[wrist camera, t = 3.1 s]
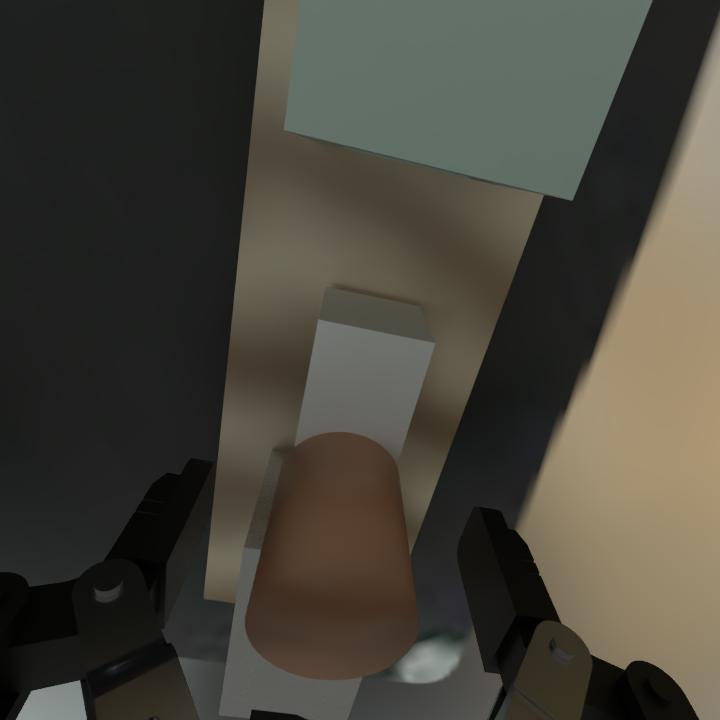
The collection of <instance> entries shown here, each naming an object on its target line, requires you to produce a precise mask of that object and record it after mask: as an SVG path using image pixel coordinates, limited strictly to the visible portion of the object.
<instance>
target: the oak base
mask: <svg viewBox="0 0 720 720" xmlns="http://www.w3.org/2000/svg"><path fill="white" fill-rule="evenodd" d="M300 1H301V0H265V2H264V12H263V22H262V32H261V41H260V51H259V61H258V71H257V80H256V90H255V100H254V110H253V120H252V129H251V139H250V149H249V159H248V168H247V178H246V188H245V198H244V208H243V217H242V227H241V237H240V247H239V256H238V266H237V276H236V286H235V296H234V305H233V315H232V325H231V335H230V344H229V354H228V364H227V374H226V384H225V393H224V403H223V413H222V423H221V432H220V442H219V452H218V462H217V472H216V481H215V491H214V501H213V511H212V520H211V530H210V540H209V550H208V560H207V569H206V579H205V589H204V599H208V600H216V601H223V602H230V603H236V596H237V589H238V582H239V576H240V569H241V562H242V555H243V549H244V545H245V541H246V538H247V534H248V531H249V527H250V524H251V520H252V517H253V513H254V510H255V506H256V503H257V499H258V496H259V493H260V489H261V486H262V482H263V479H264V475H265V472H266V468H267V465H268V461H269V458H270V454H271V451H272V449H277V450H283V451H289V452H291V450H292V449H293V448H294V445H295V440H296V435H297V429H298V424H299V419H300V413H301V408H302V403H303V398H304V392H305V387H306V382H307V376H308V371H309V366H310V361H311V355H312V350H313V345H314V340H315V334H316V329H317V324H318V319H319V314H320V310H321V306H322V302H323V297H324V293H325V289H326V287H330V288H335V289H340V290H344V291H349V292H354V293H359V294H363V295H368V296H373V297H378V298H382V299H387V300H392V301H397V302H401V303H406V304H411V305H416V306H420V308H421V310H422V313H423V315H424V317H425V320H426V322H427V324H428V327H429V329H430V332H431V334H432V336H433V339H434V341H435V346H434V349H433V353H432V356H431V359H430V362H429V365H428V368H427V372H426V375H425V378H424V381H423V384H422V387H421V391H420V394H419V397H418V400H417V403H416V406H415V410H414V413H413V416H412V419H411V422H410V425H409V429H408V432H407V435H406V438H405V441H404V444H403V448H402V451H401V454H400V457H399V460H398V464H397V468H398V471H399V477H400V485H401V492H402V499H403V507H404V514H405V522H406V529H407V537H408V544H409V551H410V554H411V552H412V549H413V546H414V544H415V541H416V538H417V536H418V533H419V530H420V528H421V525H422V522H423V519H424V517H425V514H426V511H427V509H428V506H429V503H430V501H431V498H432V495H433V493H434V490H435V487H436V484H437V482H438V479H439V476H440V474H441V471H442V468H443V466H444V463H445V460H446V457H447V455H448V452H449V449H450V447H451V444H452V441H453V439H454V436H455V433H456V431H457V428H458V425H459V422H460V420H461V417H462V414H463V412H464V409H465V406H466V404H467V401H468V398H469V396H470V393H471V390H472V387H473V385H474V382H475V379H476V377H477V374H478V371H479V369H480V366H481V363H482V360H483V358H484V355H485V352H486V350H487V347H488V344H489V342H490V339H491V336H492V334H493V331H494V328H495V325H496V323H497V320H498V317H499V315H500V312H501V309H502V307H503V304H504V301H505V299H506V296H507V293H508V290H509V288H510V285H511V282H512V280H513V277H514V274H515V272H516V269H517V266H518V264H519V261H520V258H521V255H522V253H523V250H524V247H525V245H526V242H527V239H528V237H529V234H530V231H531V228H532V226H533V223H534V220H535V218H536V215H537V212H538V210H539V207H540V204H541V202H542V199H543V196H544V195H542V194H538V193H533V192H528V191H523V190H518V189H513V188H508V187H503V186H498V185H493V184H488V183H484V182H480V181H476V180H472V179H468V178H463V177H459V176H455V175H451V174H447V173H443V172H439V171H435V170H431V169H426V168H422V167H418V166H414V165H410V164H406V163H402V162H398V161H393V160H389V159H385V158H381V157H377V156H373V155H369V154H365V153H361V152H356V151H352V150H348V149H344V148H340V147H336V146H332V145H328V144H323V143H319V142H315V141H312V140H309V139H306V138H304V137H301V136H298V135H295V134H293V133H290V132H287V131H285V130H284V124H285V116H286V109H287V101H288V93H289V86H290V78H291V70H292V63H293V55H294V47H295V39H296V32H297V24H298V16H299V9H300Z"/></svg>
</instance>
